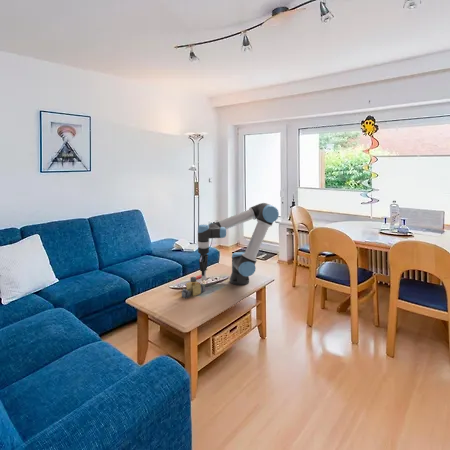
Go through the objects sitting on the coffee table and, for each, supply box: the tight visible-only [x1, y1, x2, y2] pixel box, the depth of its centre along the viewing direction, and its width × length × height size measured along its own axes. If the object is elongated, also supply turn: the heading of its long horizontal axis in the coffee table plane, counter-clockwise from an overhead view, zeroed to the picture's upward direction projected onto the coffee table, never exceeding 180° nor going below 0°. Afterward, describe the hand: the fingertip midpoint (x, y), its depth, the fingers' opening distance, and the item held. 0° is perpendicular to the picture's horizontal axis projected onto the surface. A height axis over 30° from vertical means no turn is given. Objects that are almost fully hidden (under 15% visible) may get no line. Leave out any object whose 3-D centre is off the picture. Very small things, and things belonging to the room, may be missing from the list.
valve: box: [181, 280, 206, 299], centre depth 222 cm, size 18×7×10 cm, turn 134°
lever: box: [189, 274, 202, 282], centre depth 223 cm, size 12×4×2 cm, turn 137°
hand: (203, 279), depth 223 cm, fingers closed
